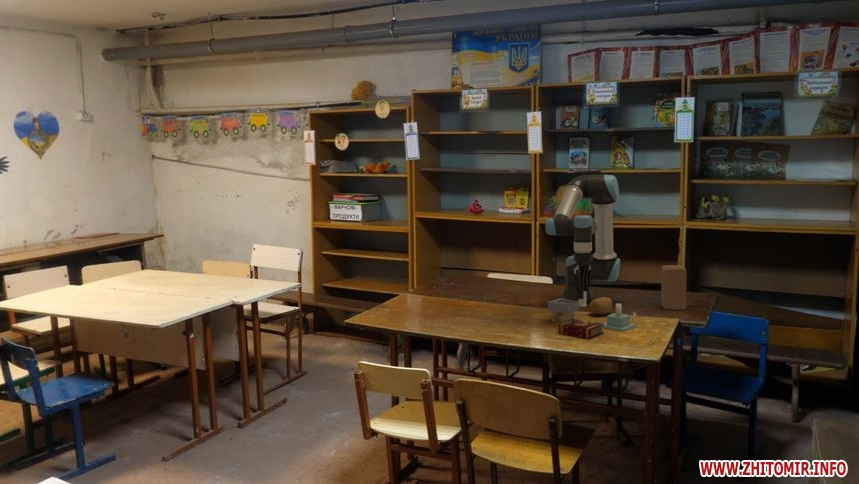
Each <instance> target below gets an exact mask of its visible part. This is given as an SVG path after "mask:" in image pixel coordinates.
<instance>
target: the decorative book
mask: <svg viewBox="0 0 859 484" xmlns="http://www.w3.org/2000/svg"><path fill="white" fill-rule="evenodd" d="M604 324H605V323H602V322H601V323H600V322H593V321H590V320H580V319H576V318H574V319H570V320H567V321H566V322H563V323H559V324H558V334H562V335H565V336H568V335H569V336H573V337H577V338H581V339H593V338H595V337H598V336H602V335H604V334H605V331H603V328H602V326H604Z"/></svg>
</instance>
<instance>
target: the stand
mask: <svg viewBox="0 0 859 484" xmlns="http://www.w3.org/2000/svg"><path fill="white" fill-rule="evenodd" d="M561 302H562V303H566V301H561ZM551 312H552V317H551V318H552V321H551V322H554V323H559V322H560V323H563V322H566V321H567V320H570V319H575V311H574V312H570V313H567V314H565V313H559V312H553V311H551ZM560 323H559V324H560Z"/></svg>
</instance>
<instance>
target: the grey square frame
mask: <svg viewBox="0 0 859 484" xmlns="http://www.w3.org/2000/svg"><path fill="white" fill-rule="evenodd" d="M561 301H566V303H562V302H561ZM579 310H580V306H579V301H576V300H569V299H563V297H561V298H560V297H559V298H557V299H552V300H549V301H547V311H549V312H552V311H553V312H559V313H565V314H567V313H570V312H574V313H575V312H577V311H579Z"/></svg>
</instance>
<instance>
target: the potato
mask: <svg viewBox="0 0 859 484" xmlns="http://www.w3.org/2000/svg"><path fill="white" fill-rule="evenodd" d="M612 308H613V301H612V299H611V298H610V297H606V296H602V297H597V298H595V299H593V300H592V301H590V302H589V311H591V312H592V313H593V314H595V315H601V316H604V315H607V314H608V313H610V312H611V310H612Z"/></svg>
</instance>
